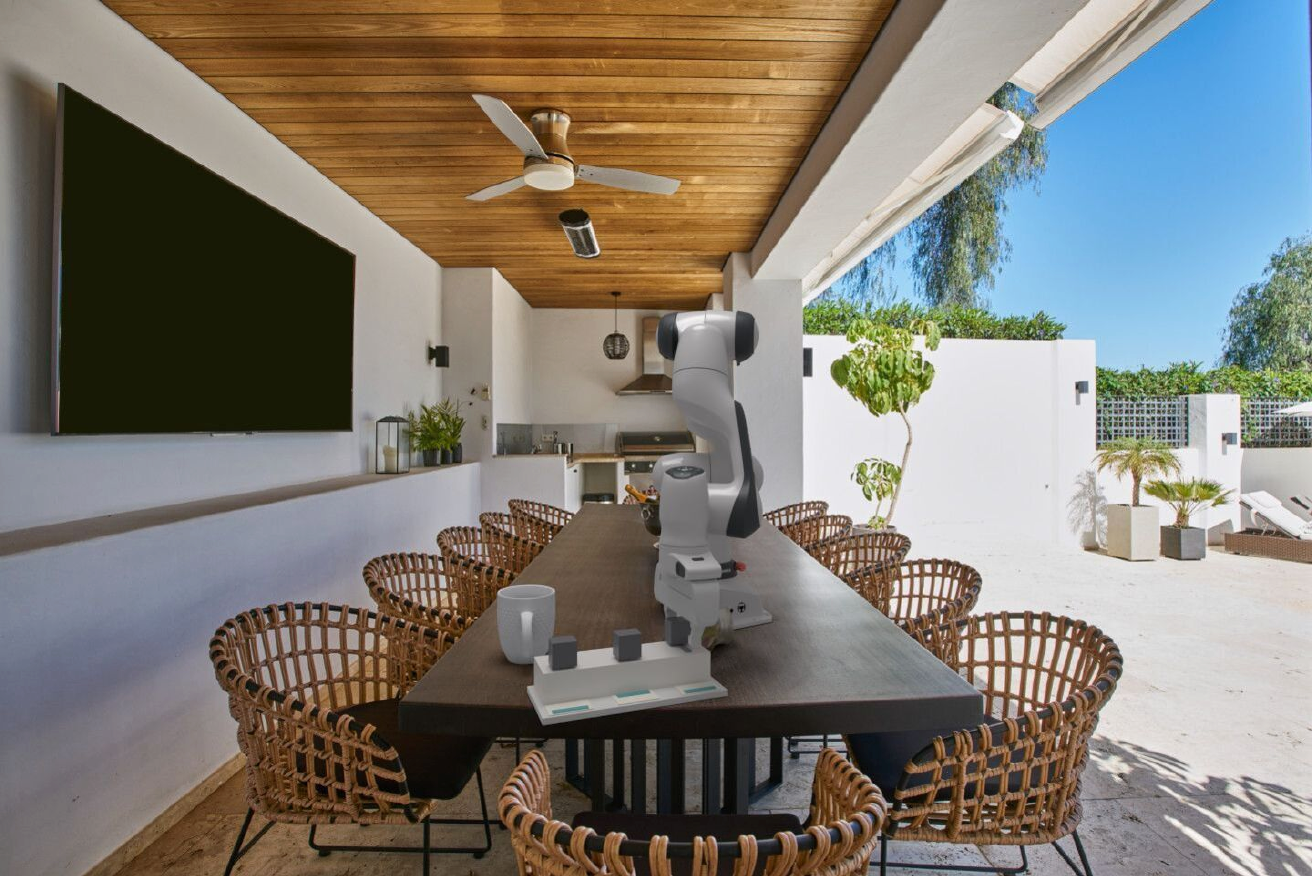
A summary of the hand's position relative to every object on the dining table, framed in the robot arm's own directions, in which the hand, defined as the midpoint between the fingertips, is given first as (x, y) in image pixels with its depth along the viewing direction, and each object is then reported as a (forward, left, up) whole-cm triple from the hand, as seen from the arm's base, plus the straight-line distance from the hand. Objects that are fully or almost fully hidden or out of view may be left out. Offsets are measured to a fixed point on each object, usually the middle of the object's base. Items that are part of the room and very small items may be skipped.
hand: (683, 638), depth 114 cm
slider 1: (+22, +1, -1) cm, 22 cm away
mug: (+24, -20, -8) cm, 32 cm away
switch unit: (+11, +1, -8) cm, 13 cm away
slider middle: (+11, +1, -1) cm, 11 cm away
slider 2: (0, -3, -1) cm, 3 cm away
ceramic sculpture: (-11, -15, -8) cm, 20 cm away
